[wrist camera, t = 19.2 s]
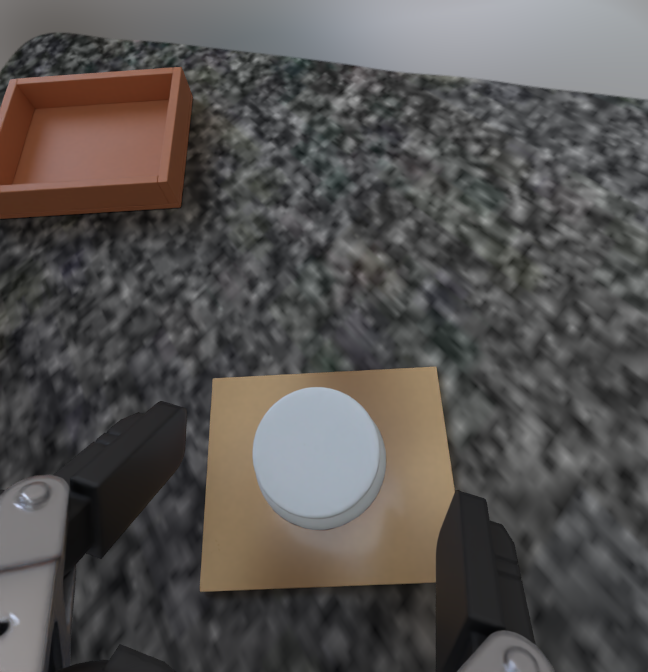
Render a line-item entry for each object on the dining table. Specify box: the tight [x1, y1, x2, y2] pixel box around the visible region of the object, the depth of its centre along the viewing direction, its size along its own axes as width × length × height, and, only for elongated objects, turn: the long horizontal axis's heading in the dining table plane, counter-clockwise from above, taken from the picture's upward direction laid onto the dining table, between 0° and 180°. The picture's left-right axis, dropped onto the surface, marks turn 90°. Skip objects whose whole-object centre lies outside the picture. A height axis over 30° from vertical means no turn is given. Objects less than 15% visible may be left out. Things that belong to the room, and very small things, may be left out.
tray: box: [0, 67, 193, 219], centre depth 29 cm, size 12×10×2 cm
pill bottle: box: [253, 387, 386, 530], centre depth 17 cm, size 5×5×8 cm
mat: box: [200, 367, 455, 592], centre depth 21 cm, size 12×10×1 cm
